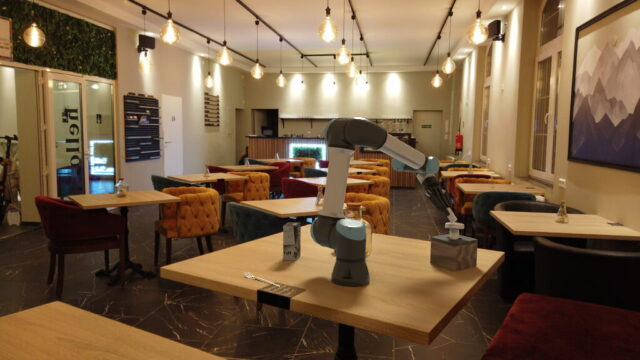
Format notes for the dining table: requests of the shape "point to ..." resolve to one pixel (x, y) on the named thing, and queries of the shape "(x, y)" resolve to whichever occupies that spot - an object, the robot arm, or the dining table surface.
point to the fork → (258, 278)
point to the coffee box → (291, 241)
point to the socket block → (453, 252)
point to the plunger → (454, 230)
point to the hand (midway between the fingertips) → (454, 221)
